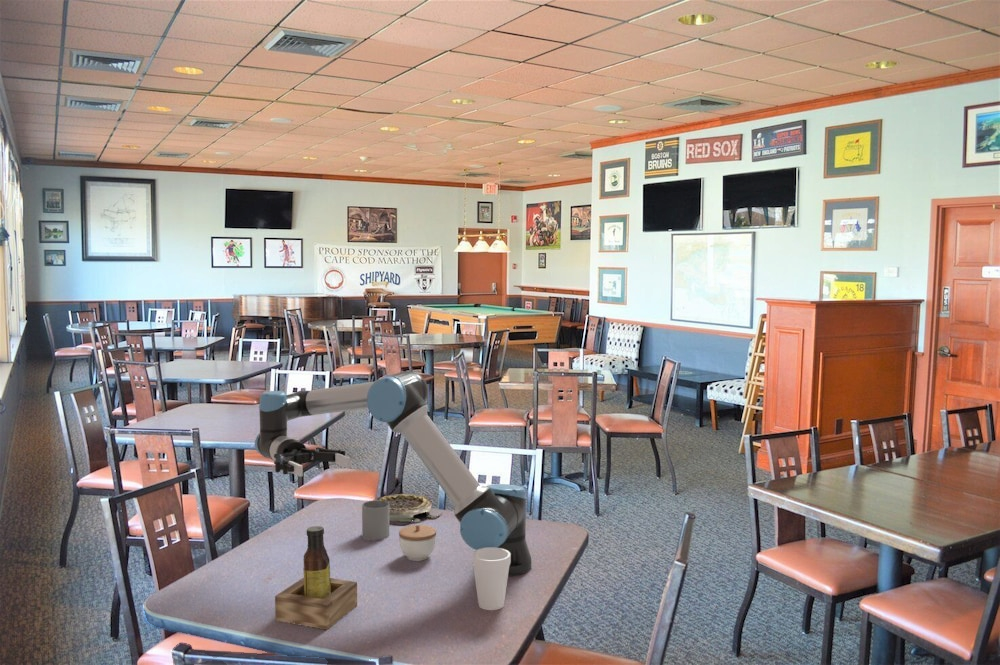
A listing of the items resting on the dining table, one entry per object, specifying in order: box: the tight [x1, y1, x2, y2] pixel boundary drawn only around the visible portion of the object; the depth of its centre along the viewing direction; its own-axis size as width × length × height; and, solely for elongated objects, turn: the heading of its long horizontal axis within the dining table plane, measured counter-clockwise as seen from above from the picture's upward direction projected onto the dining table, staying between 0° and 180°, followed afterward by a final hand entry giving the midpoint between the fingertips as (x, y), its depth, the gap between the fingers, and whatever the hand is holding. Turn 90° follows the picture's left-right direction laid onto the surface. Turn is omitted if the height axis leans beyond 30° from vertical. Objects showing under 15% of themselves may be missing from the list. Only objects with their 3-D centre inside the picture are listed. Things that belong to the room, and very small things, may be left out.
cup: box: [361, 499, 390, 541], centre depth 243 cm, size 8×8×10 cm
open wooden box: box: [274, 577, 358, 631], centre depth 188 cm, size 14×14×6 cm
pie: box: [372, 493, 443, 526], centre depth 267 cm, size 28×27×5 cm
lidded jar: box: [398, 524, 437, 562], centre depth 225 cm, size 11×11×9 cm
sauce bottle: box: [303, 525, 331, 599], centre depth 188 cm, size 7×6×20 cm
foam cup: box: [472, 547, 511, 611], centre depth 193 cm, size 10×9×13 cm
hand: (325, 467), depth 201 cm, fingers open, 13 cm apart
